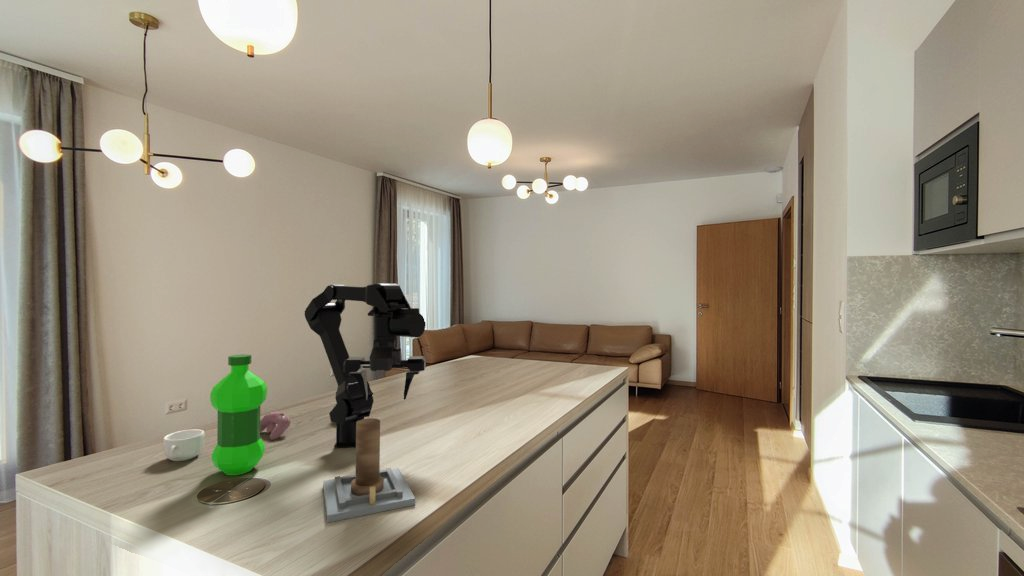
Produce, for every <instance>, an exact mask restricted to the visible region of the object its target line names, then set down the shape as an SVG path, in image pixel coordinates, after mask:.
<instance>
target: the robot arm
mask: <svg viewBox="0 0 1024 576" xmlns="http://www.w3.org/2000/svg"><path fill="white" fill-rule="evenodd" d="M333 300H334V301H335V302H332V301H333ZM346 301H351V302H353V301H355V302H363V303H365V304H366V305H368V306H371V307H372V309H371V310H369V312H367V316H368V317H373V344H372V345H373V346H372V350H371V352H370V355H369V359H367V360H366V357H365V356H350V355H349V352H348V349H347V346H346V344H345V341H344V339H343V337H342V334H341V331H340V327H341V324H342V316H341V315H342V313H343V312H344V311H345V308H346ZM304 318H305V321H306V323H307V324H308V326H309V329H310V330H312V331H313V332H314V333H315V334H316V335H318V336H319V337H320V340H321V342H322V345H323V348H324V351H325V353H326V357H327V359H328V361H329V365H330V367H331V370H332V372H333V376H334V379H335V381H336V383H337V388H336V389H337V390H336V392H337V393H336V392H335V402H336V404H335V406H334V407H333V408H332V409H331V410H330V412H329V418H330V419H329V420H330V422H332V423H335V424H336V425H335V427H336V429H335V431H336V432H335V433H336V434H335V435H336V436H335V444H334V445H333V447H334V448H347V447H348V448H352V447H353V448H356V422H357V421H359V420H362V419H365V418H366V417H367V418H368V417H370V415H371V412H372V408H373V404H374V397H373V395H374V392H373V391H372V389H371V386H370V383H369V382H368V375H367V374H368V373H367V369H370V371H372V372H377V371H385V372H389V371H391V370H392V369H394V368H395V369H396V368H406V369H407V371H406V372H405V381H404V389H403V400H406V399H407V397H408V393H409V390H410V388H411V385H412V381H413V379H414V377H415V375H419V374H420V372H424V371H425V369H426V365H427V364H426V363H427V362H426V361H427V360H426V357H425V356H424V355H416V356H415V355H414V356H413V355H411V356H410V355H409V357H408V358H407V359H402V348H399V337H402V338H403V337H404V338H415V339H417V338H420V337H421V336H422V335H423V334H424V332H425V329H426V321H425V318H424V316H423V315H422V314H421V313H420V308H419V307H414V308H413V307H411V305H410V304H409V302H408V300H407V298H406V296H405V294H404V292H403V291H402V287H401V286H400V284H398V283H383V282H382V283H376V282H375V283H372V284H367V285H366V286H358V285H356V286H355V285H345V284H329V285H327V286H326V287H325V289H324V290H323V291H322V292H321V293H319V294H318V295H317V296H315V297H314V298H312V299H311V300H310V302H309V304H308V305H307V307H306V308H305V311H304Z"/></svg>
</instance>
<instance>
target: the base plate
mask: <svg viewBox="0 0 1024 576" xmlns="http://www.w3.org/2000/svg"><path fill="white" fill-rule="evenodd" d="M379 476H382V477H383V479H384V488H383V490H382V491H380V492H378V493H375V487H374V486H372V487H370V494H367V495H362V496H356V495H353V494H352V493H351V482H352V480H354V479H355V478H356V473H355V474H350V475H345V476H340V475H339V476H334V478H332V479H327V480H322V481H323V482H322V483H323V484H322V485H323V486H322V487H323V495H324V496H323V497H324V505H325V512H326V521H327V523H332V522H337V521H342V520H348V519H352V518H357V517H361V516H367V515H372V514H376V513H381V512H386V511H391V510H395V509H401V508H406V507H409V506H415V505H416V497H415V495H414V494H413V492H412V490H411V488H410V486H409V484H408V483H407V480H406V479H405V477H404V475H403V473H402V471H401V470H400V468H399V467H398V468H393V469H392V468H391V467H388V468H385V469H381V470H380V472H379Z"/></svg>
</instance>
